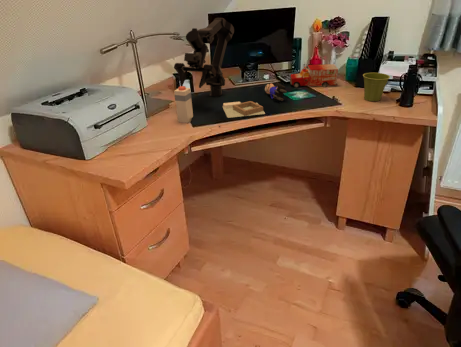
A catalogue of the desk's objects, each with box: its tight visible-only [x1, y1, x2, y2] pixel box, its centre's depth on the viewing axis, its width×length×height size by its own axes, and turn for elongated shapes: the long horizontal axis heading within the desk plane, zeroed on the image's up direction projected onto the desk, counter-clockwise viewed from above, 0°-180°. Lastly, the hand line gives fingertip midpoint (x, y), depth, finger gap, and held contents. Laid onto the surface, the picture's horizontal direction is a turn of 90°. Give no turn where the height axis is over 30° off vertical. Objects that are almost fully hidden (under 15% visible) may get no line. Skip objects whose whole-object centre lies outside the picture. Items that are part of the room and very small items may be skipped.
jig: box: [222, 100, 266, 119], centre depth 160 cm, size 15×17×3 cm
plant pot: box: [362, 72, 391, 102], centre depth 166 cm, size 12×12×11 cm
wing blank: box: [222, 101, 241, 110], centre depth 164 cm, size 3×8×2 cm, turn 100°
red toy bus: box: [289, 63, 339, 88], centre depth 190 cm, size 11×25×10 cm, turn 87°
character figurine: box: [264, 81, 287, 101], centre depth 174 cm, size 8×7×15 cm
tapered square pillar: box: [173, 85, 194, 124], centre depth 151 cm, size 5×5×15 cm
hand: (190, 86), depth 154 cm, fingers open, 9 cm apart
